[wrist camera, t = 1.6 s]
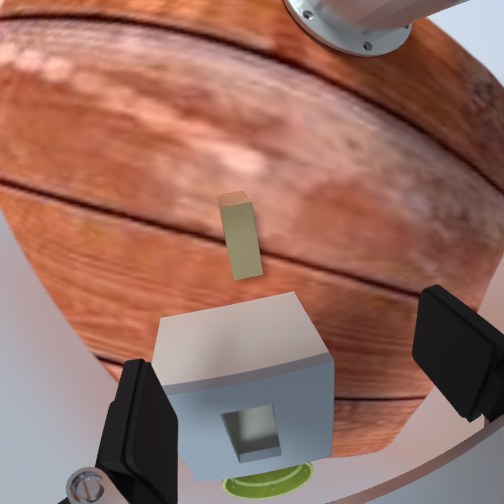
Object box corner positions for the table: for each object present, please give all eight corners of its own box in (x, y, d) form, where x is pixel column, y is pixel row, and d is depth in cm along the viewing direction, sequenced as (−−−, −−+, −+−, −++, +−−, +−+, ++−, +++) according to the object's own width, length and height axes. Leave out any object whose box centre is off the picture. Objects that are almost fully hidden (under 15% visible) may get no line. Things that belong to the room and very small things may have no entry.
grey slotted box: (160, 317, 26) (146, 397, 17) (293, 291, 27) (334, 360, 18) (195, 406, 31) (197, 482, 21) (302, 385, 32) (331, 455, 22)
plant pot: (252, 386, 31) (267, 450, 23) (309, 414, 34) (331, 469, 26) (200, 429, 32) (203, 489, 24) (258, 451, 35) (269, 504, 27)
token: (216, 195, 24) (219, 207, 19) (242, 190, 24) (251, 201, 19) (228, 255, 25) (233, 280, 21) (252, 250, 26) (263, 274, 21)
